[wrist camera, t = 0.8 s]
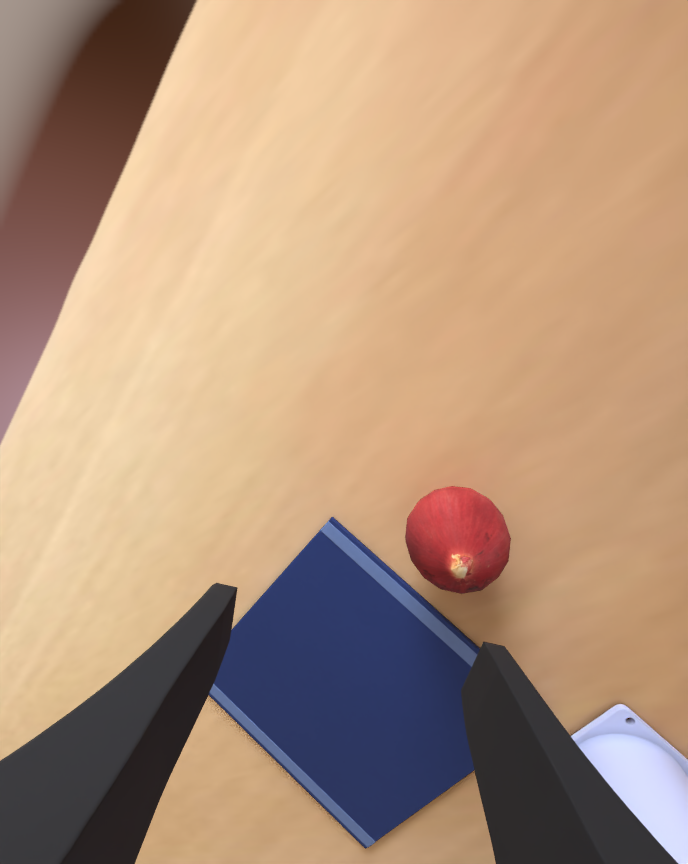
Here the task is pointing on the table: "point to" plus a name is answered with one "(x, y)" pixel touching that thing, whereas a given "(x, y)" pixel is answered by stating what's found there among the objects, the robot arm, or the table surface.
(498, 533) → the onion
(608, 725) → the robot arm
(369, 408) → the table surface
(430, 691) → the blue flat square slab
